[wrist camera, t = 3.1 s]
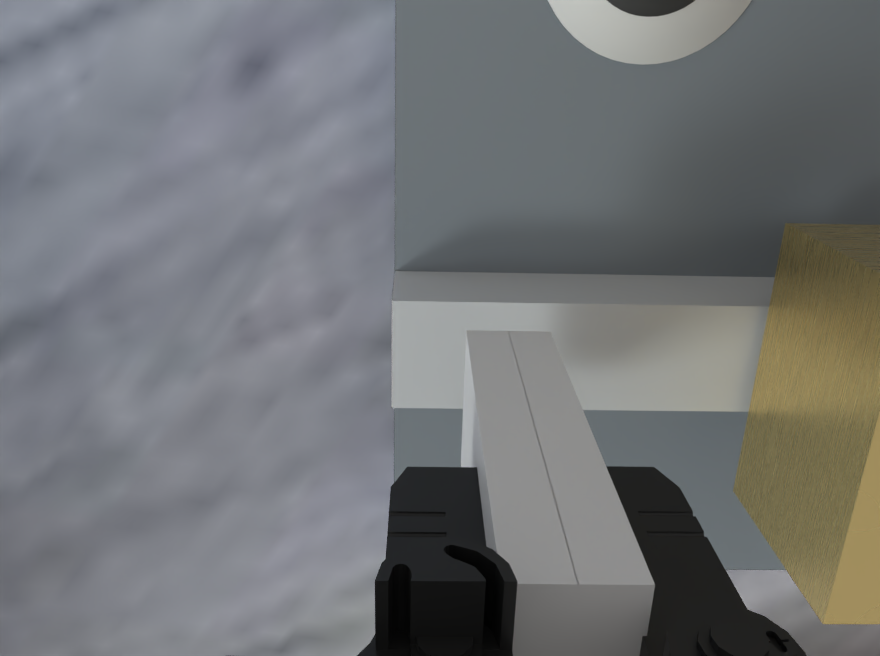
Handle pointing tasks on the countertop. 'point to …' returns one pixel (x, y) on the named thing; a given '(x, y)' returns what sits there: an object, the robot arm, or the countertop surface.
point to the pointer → (820, 420)
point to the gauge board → (621, 210)
